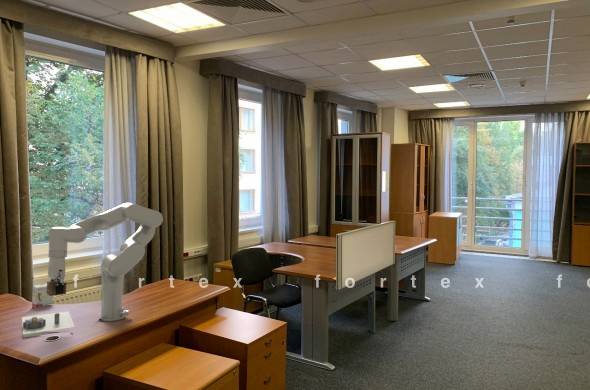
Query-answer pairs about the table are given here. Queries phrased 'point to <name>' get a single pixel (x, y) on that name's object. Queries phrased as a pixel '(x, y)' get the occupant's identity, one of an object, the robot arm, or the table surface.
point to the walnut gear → (52, 288)
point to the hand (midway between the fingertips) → (56, 291)
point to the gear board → (45, 323)
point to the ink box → (41, 296)
